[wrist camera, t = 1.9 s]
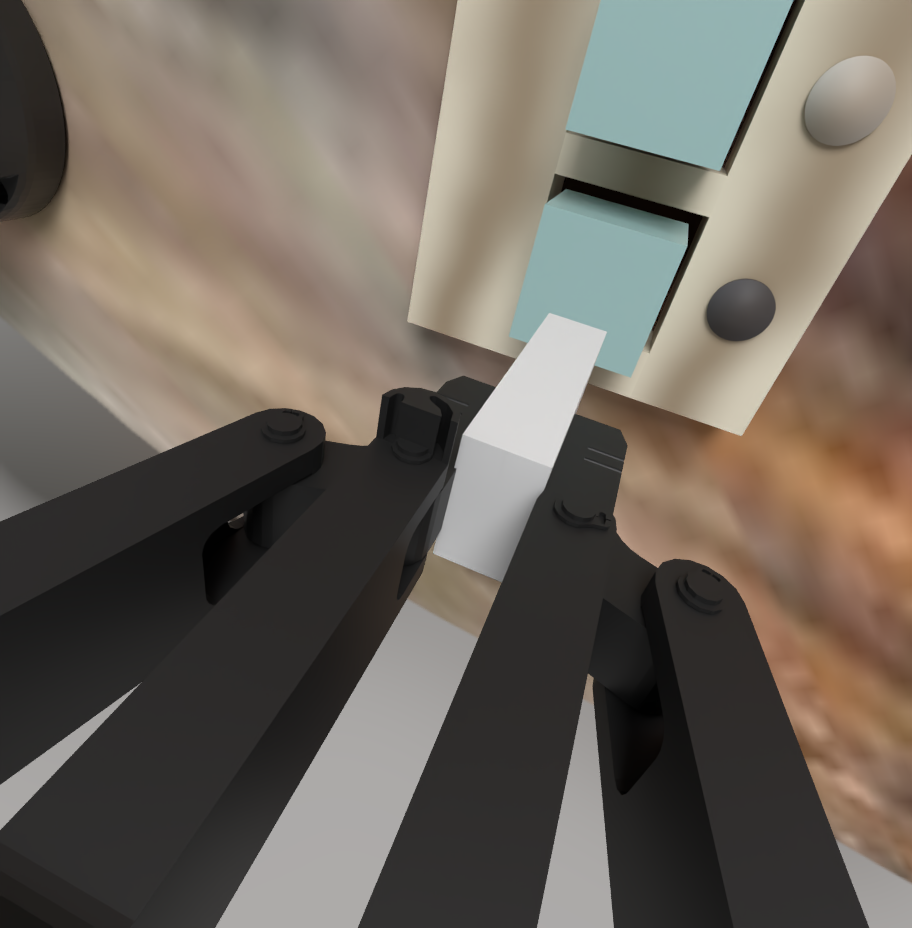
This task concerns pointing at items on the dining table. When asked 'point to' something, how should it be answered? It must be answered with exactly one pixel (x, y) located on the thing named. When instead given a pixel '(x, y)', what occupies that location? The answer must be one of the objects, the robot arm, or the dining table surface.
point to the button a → (600, 273)
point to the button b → (674, 74)
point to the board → (668, 191)
